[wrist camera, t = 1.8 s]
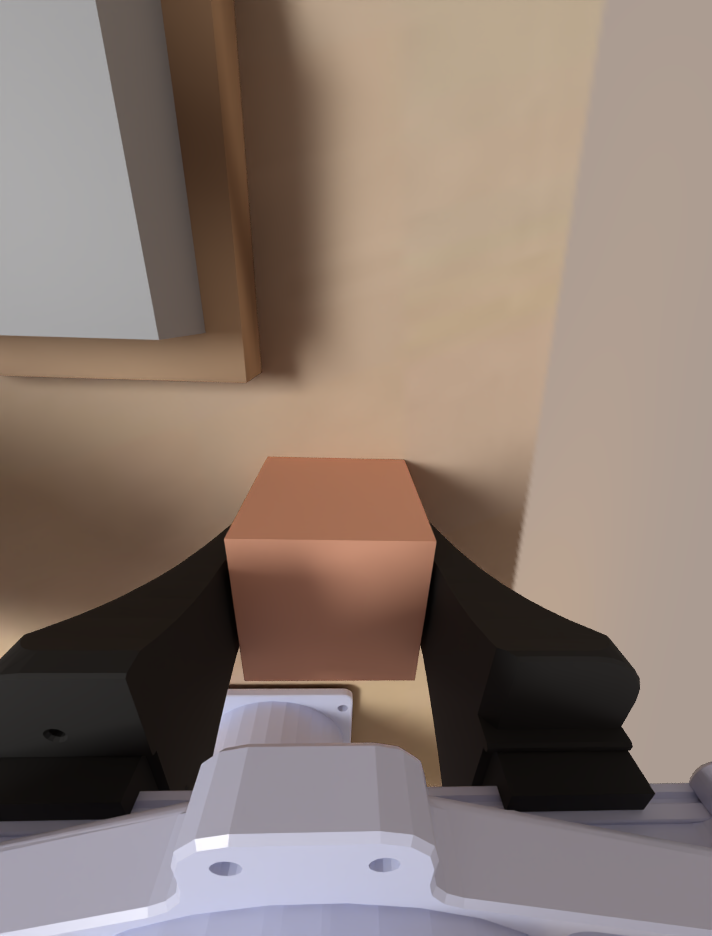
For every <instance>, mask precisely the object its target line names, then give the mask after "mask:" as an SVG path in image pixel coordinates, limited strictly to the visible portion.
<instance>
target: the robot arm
mask: <svg viewBox="0 0 712 936" xmlns="http://www.w3.org/2000/svg"><path fill="white" fill-rule="evenodd" d="M429 524H430V526H431V529H432V531H433V534H434V536H435V539H436V541H437V542H436V548H435V555H434V561H433V567H432V574H431V580H430V586H429V593H428V599H427V606H426V612H425V618H424V625H423V631H422V637H421V644H420V645H421V650H422V654H423V659H424V664H425V670H426V676H427V682H428V688H429V695H430V701H431V707H432V714H433V720H434V727H435V735H436V742H437V749H438V756H439V763H440V771H441V779H442V787H427V786H426V780H425V775H424V771H423V768H422V764H421V761H420V760H418V759H417V758H416V757H415V756H413V755H412V754H410V753H408V752H407V751H405V750H404V749H402V748H400V747H399V746H393V745H387V744H380V743H351V727H352V707H353V694H352V692H351V691H350V690H348V689H344V688H325V689H228V687H229V683H230V679H231V675H232V671H233V667H234V663H235V659H236V655H237V652H238V649H239V639H238V632H237V625H236V618H235V611H234V604H233V597H232V590H231V583H230V576H229V570H228V563H227V556H226V549H225V542H224V538H225V536H226V534H227V532H228V530H229V529H230V527H231V525H232V524H231V525H230V526H229V527H228V528H226V529H225V530H224V531H223V532H222V533H220V534H219V535H218V536H217V537H215V538H214V539H213V540H212V541H210V542H209V543H208V544H207V545H205V546H204V547H203V548H201V549H200V550H198V551H197V552H196V553H194V554H193V555H192V556H190V557H189V558H188V559H186V560H185V561H183V562H182V563H180V564H179V565H177V566H176V567H174V568H173V569H171V570H169V571H168V572H166V573H164V574H163V575H161V576H159V577H158V578H156V579H154V580H152V581H150V582H149V583H147V584H145V585H143V586H141V587H139V588H137V589H135V590H133V591H131V592H129V593H127V594H125V595H124V596H121V597H119V598H117V599H115V600H113V601H111V602H108V603H106V604H104V605H102V606H99V607H97V608H95V609H92V610H90V611H88V612H85V613H83V614H80V615H78V616H75V617H73V618H70V619H67V620H65V621H62V622H59V623H56V624H54V625H51V626H48V627H45V628H43V629H40V630H37V631H34V632H31V633H28V634H25V635H24V636H23V637H22V638H21V639H20V640H19V641H18V642H17V643H16V644H15V645H14V646H13V647H12V648H11V649H10V650H9V651H8V652H7V653H6V654H5V655H4V656H3V657H2V658H1V659H0V936H712V762H708V763H706V764H704V765H701V766H700V767H699V768H697V769H696V770H695V772H694V773H693V775H692V776H691V778H690V781H689V783H662V784H661V783H660V784H649V783H648V781H647V780H646V778H645V777H644V775H643V774H642V772H641V771H640V769H639V767H638V766H637V764H636V763H635V761H634V760H633V758H632V756H631V755H630V753H629V752H628V750H631V748H632V747H633V746H632V742H631V740H630V739H629V737H628V736H627V734H626V733H625V731H624V730H623V728H622V727H621V726H622V724H623V722H624V721H625V719H626V717H627V715H628V713H629V712H630V710H631V708H632V707H633V705H634V703H635V701H636V699H637V696H638V693H639V690H640V681H639V680H640V679H639V676H638V675H637V673H636V671H635V669H634V668H633V667H632V666H631V665H630V663H629V662H628V661H627V660H626V658H625V657H624V656H623V655H622V653H621V652H620V651H619V650H618V648H617V647H616V646H615V645H614V643H613V642H612V641H611V640H610V639H609V638H608V637H607V636H606V635H604V634H602V633H599V632H597V631H594V630H592V629H590V628H587V627H585V626H582V625H580V624H577V623H575V622H573V621H570V620H568V619H566V618H564V617H561V616H559V615H557V614H555V613H553V612H551V611H549V610H547V609H545V608H543V607H541V606H539V605H537V604H535V603H534V602H532V601H530V600H528V599H526V598H524V597H523V596H521V595H519V594H518V593H516V592H515V591H513V590H511V589H509V588H508V587H506V586H505V585H503V584H502V583H500V582H499V581H497V580H496V579H494V578H493V577H491V576H490V575H489V574H487V573H486V572H484V571H483V570H482V569H480V568H479V567H478V566H476V565H475V564H474V563H473V562H472V561H470V560H469V559H468V558H467V557H466V556H464V555H463V554H462V553H461V552H460V551H459V550H457V549H456V548H455V547H454V546H453V545H452V544H451V543H450V542H449V541H448V540H447V539H446V538H445V537H444V536H443V535H442V534H441V533H440V532H439V531H438V530H437V529H436V528H435V527H434V526H433V525H432V524H431V523H430V522H429Z"/></svg>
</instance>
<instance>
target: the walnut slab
mask: <svg viewBox="0 0 712 936" xmlns="http://www.w3.org/2000/svg"><path fill="white" fill-rule="evenodd" d="M161 7H162V15H163V22H164V29H165V37H166V44H167V52H168V59H169V66H170V74H171V81H172V89H173V96H174V103H175V111H176V118H177V125H178V133H179V140H180V148H181V155H182V162H183V170H184V177H185V185H186V192H187V199H188V207H189V214H190V222H191V229H192V236H193V244H194V251H195V258H196V266H197V273H198V281H199V288H200V295H201V303H202V310H203V318H204V325H205V332H206V333H202V334H195V335H188V336H182V337H175V338H169V339H162V340H145V339H111V338H77V337H43V336H9V335H0V376H32V377H66V378H99V379H133V380H166V381H200V382H234V383H247V382H248V381H250V380H251V379H253V378H254V377H255V376H257V375H258V374H260V373H261V372H262V369H261V356H260V342H259V329H258V316H257V302H256V289H255V276H254V262H253V249H252V236H251V222H250V209H249V196H248V182H247V169H246V156H245V142H244V129H243V116H242V102H241V89H240V76H239V62H238V49H237V36H236V22H235V9H234V0H161Z"/></svg>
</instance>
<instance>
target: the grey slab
mask: <svg viewBox="0 0 712 936" xmlns="http://www.w3.org/2000/svg"><path fill="white" fill-rule="evenodd" d="M202 333H206V332H205V325H204V318H203V310H202V303H201V295H200V288H199V281H198V273H197V266H196V258H195V251H194V244H193V236H192V229H191V222H190V214H189V207H188V199H187V192H186V185H185V177H184V170H183V162H182V155H181V148H180V140H179V133H178V125H177V118H176V111H175V103H174V96H173V89H172V81H171V74H170V66H169V59H168V52H167V44H166V37H165V29H164V22H163V15H162V7H161V0H0V335H9V336H43V337H77V338H111V339H145V340H162V339H169V338H175V337H182V336H188V335H195V334H202Z"/></svg>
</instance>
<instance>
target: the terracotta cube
mask: <svg viewBox="0 0 712 936" xmlns="http://www.w3.org/2000/svg"><path fill="white" fill-rule="evenodd" d="M224 542H225V549H226V556H227V563H228V570H229V576H230V583H231V590H232V597H233V604H234V611H235V618H236V625H237V632H238V639H239V646H240V653H241V659H242V666H243V673H244V680H245V681H343V680H415V676H416V669H417V663H418V656H419V650H420V644H421V637H422V631H423V625H424V618H425V612H426V606H427V599H428V593H429V586H430V580H431V574H432V567H433V561H434V555H435V548H436V542H437V541H436V539H435V536H434V534H433V531H432V529H431V526H430V524H429V521H428V518H427V516H426V513H425V511H424V508H423V506H422V503H421V501H420V498H419V496H418V493H417V491H416V488H415V485H414V483H413V480H412V478H411V475H410V473H409V470H408V468H407V465H406V463H405V460H393V459H346V458H300V457H267V459H266V461H265V463H264V464H263V466H262V468H261V470H260V472H259V474H258V476H257V478H256V480H255V481H254V483H253V485H252V487H251V489H250V491H249V493H248V495H247V497H246V498H245V500H244V502H243V504H242V506H241V508H240V510H239V512H238V514H237V515H236V517H235V519H234V521H233V523H232V525H231V527H230V529H229V530H228V532H227V534H226V536H225V538H224Z"/></svg>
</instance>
